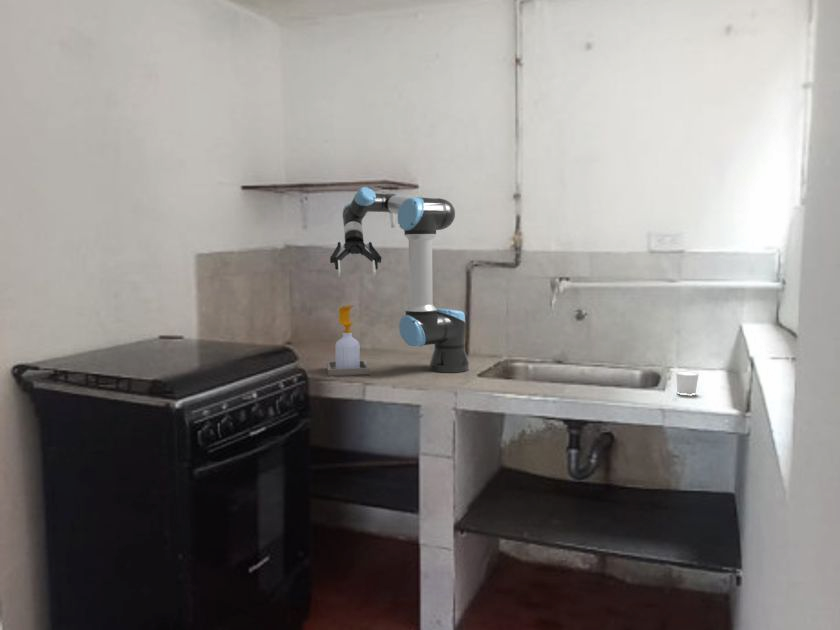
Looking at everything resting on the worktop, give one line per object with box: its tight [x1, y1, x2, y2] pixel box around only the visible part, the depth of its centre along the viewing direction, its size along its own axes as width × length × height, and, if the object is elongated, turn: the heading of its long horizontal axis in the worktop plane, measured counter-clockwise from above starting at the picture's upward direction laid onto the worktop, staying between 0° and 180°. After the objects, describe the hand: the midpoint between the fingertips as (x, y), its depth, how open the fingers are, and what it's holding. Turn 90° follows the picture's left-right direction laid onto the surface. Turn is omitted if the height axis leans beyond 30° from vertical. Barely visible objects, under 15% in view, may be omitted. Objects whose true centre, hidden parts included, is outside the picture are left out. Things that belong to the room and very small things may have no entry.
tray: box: [326, 360, 371, 377], centre depth 268 cm, size 15×16×3 cm
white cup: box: [675, 371, 699, 394], centre depth 234 cm, size 7×7×7 cm
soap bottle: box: [334, 305, 361, 369], centre depth 267 cm, size 9×9×25 cm
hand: (357, 274), depth 277 cm, fingers open, 13 cm apart
